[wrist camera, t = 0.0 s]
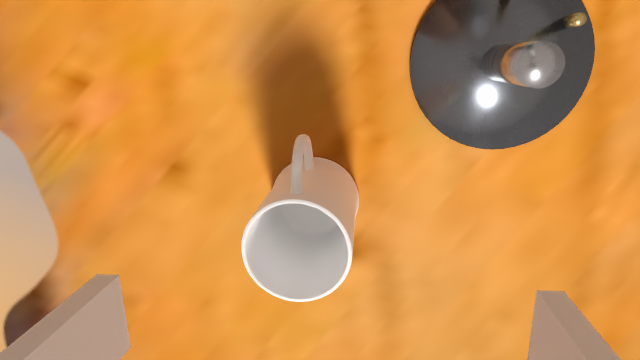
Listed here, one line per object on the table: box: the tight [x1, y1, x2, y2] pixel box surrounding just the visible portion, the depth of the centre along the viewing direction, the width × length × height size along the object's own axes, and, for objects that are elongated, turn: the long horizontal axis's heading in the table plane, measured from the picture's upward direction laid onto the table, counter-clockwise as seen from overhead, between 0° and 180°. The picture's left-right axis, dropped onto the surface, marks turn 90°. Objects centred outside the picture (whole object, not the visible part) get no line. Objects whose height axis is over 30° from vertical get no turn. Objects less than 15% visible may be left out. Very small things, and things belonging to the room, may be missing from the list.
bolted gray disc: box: [410, 0, 595, 149], centre depth 33 cm, size 15×15×9 cm
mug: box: [241, 134, 359, 302], centre depth 36 cm, size 12×8×12 cm
